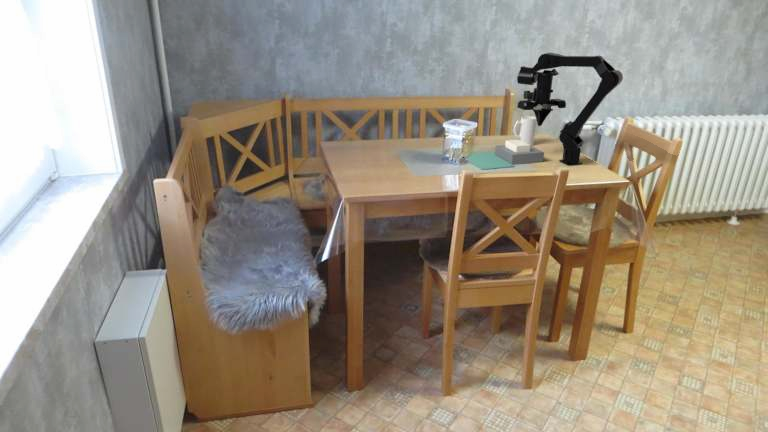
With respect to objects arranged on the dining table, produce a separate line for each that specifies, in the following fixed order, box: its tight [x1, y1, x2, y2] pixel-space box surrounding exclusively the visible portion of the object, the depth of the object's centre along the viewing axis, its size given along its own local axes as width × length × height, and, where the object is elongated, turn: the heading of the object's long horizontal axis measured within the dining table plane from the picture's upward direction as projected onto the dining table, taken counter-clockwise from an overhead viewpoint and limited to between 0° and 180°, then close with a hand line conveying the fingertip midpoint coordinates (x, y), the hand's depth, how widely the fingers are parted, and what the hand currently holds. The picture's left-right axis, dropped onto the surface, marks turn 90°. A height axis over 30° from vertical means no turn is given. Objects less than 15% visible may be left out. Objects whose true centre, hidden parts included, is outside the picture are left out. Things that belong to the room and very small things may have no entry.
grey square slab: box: [494, 144, 545, 166], centre depth 221 cm, size 14×14×4 cm
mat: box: [464, 152, 515, 171], centre depth 218 cm, size 20×14×1 cm
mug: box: [513, 115, 537, 147], centre depth 240 cm, size 10×7×12 cm, turn 102°
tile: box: [504, 139, 530, 153], centre depth 220 cm, size 9×6×3 cm, turn 17°
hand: (539, 125), depth 219 cm, fingers closed
